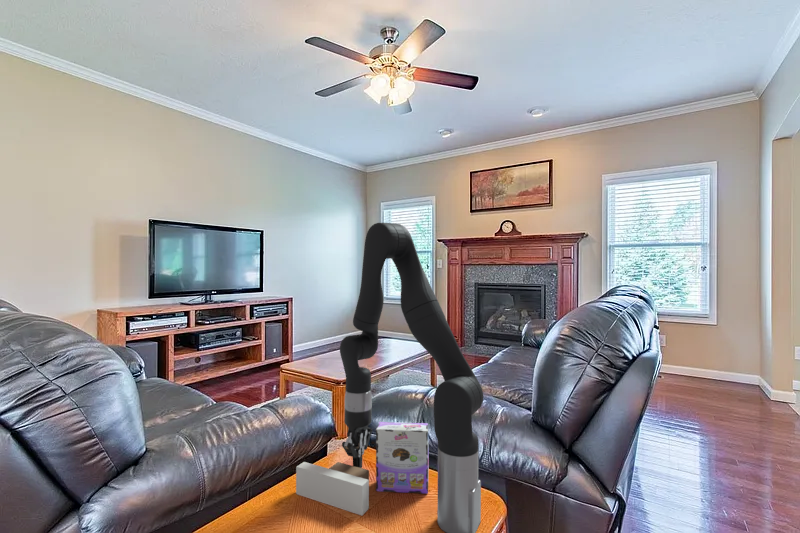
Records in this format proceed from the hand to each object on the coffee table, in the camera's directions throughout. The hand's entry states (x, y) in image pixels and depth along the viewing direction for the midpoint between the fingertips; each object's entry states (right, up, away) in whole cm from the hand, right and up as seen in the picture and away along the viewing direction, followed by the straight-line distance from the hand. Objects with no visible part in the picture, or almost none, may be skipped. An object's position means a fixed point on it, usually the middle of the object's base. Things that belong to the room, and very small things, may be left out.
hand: (357, 468), depth 111 cm
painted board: (-5, -2, -11) cm, 13 cm away
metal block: (-3, -3, -6) cm, 8 cm away
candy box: (+13, -3, -5) cm, 14 cm away
